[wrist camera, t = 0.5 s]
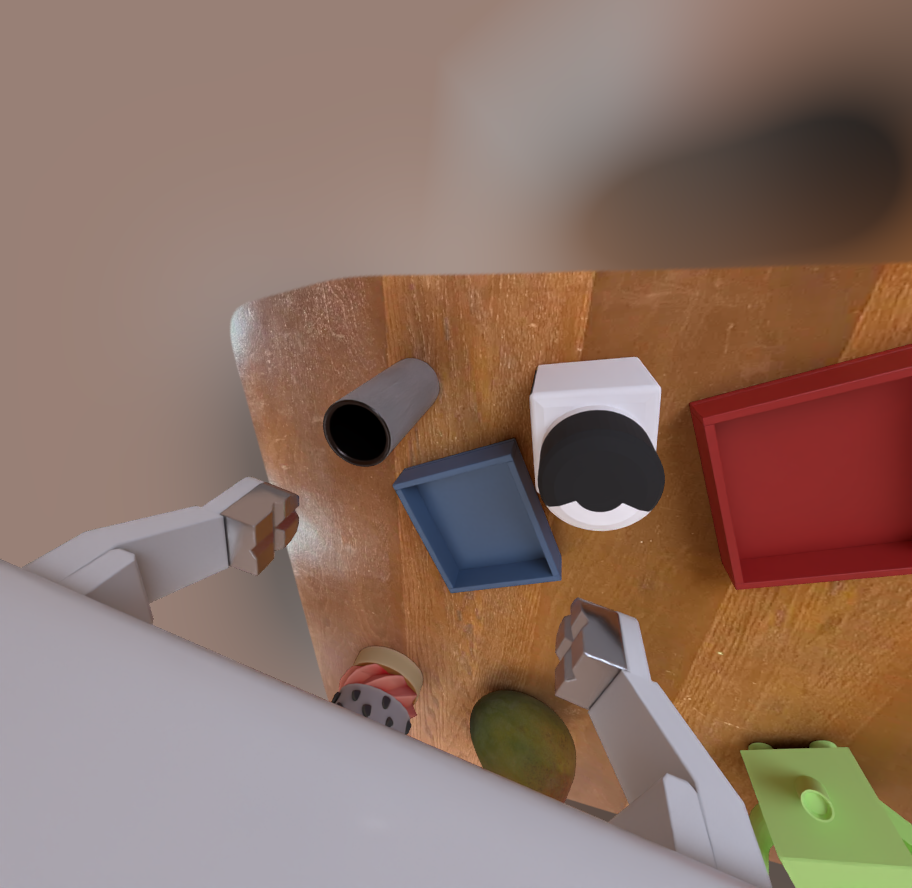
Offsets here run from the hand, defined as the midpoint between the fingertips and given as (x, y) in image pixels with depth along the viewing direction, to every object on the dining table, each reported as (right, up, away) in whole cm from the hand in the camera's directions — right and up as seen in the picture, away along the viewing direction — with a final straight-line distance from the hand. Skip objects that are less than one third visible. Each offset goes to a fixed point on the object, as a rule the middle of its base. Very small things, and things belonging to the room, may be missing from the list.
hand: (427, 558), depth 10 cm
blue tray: (+3, -3, +25) cm, 26 cm away
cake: (-8, -28, +41) cm, 51 cm away
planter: (-3, +8, +21) cm, 23 cm away
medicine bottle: (+11, +6, +18) cm, 22 cm away
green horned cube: (+37, -31, +30) cm, 57 cm away
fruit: (+9, -30, +37) cm, 48 cm away
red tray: (+26, +1, +16) cm, 31 cm away
